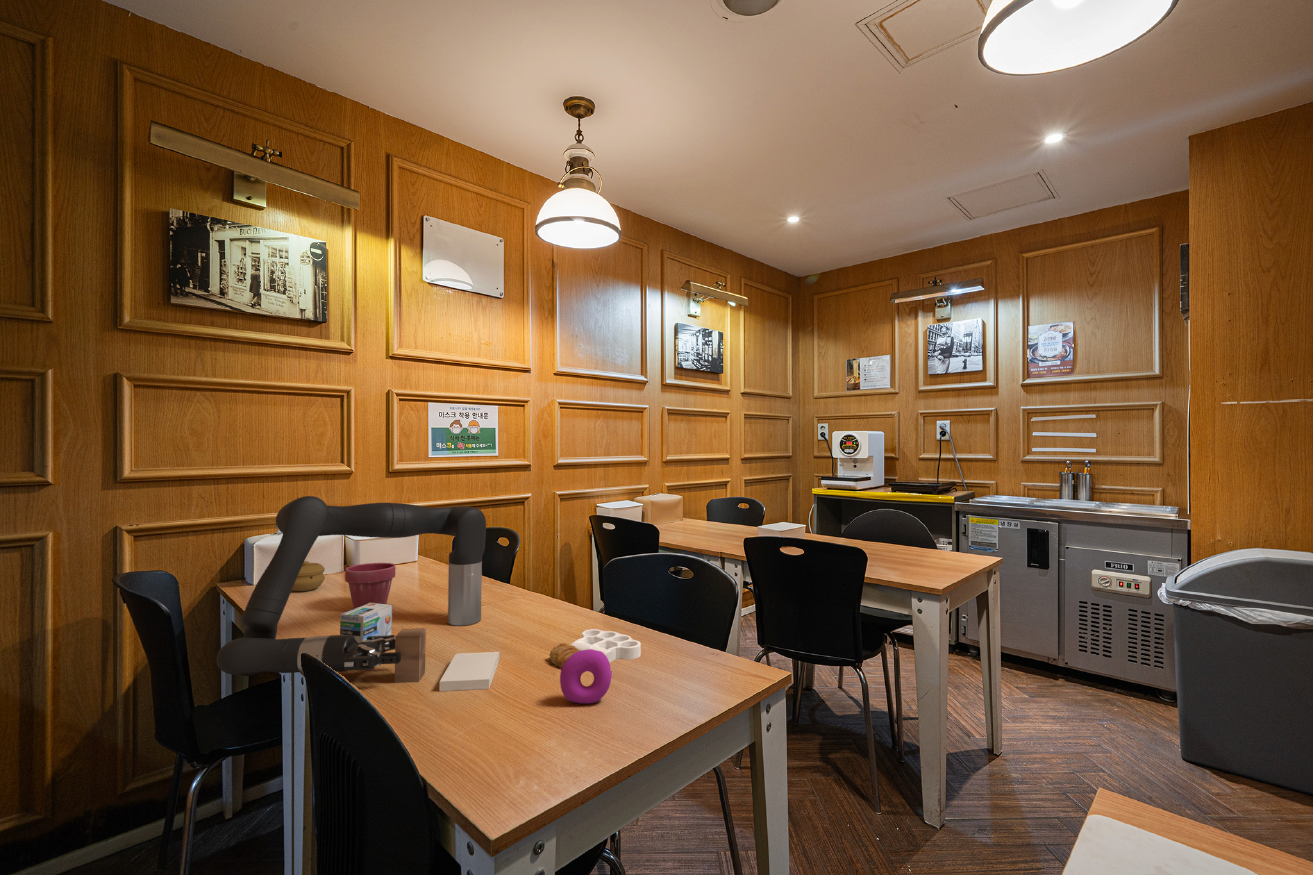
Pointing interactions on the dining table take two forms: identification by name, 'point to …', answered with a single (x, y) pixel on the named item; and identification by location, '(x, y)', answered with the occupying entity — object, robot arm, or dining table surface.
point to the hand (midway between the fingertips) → (406, 650)
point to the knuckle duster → (609, 644)
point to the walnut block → (410, 655)
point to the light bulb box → (367, 621)
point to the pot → (309, 577)
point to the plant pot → (369, 582)
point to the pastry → (562, 653)
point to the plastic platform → (470, 671)
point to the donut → (576, 667)
